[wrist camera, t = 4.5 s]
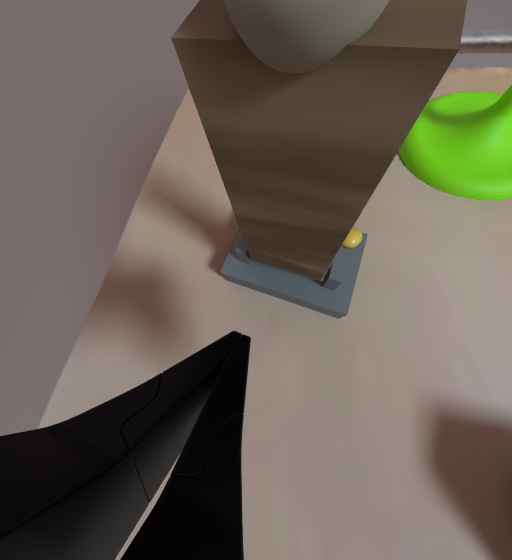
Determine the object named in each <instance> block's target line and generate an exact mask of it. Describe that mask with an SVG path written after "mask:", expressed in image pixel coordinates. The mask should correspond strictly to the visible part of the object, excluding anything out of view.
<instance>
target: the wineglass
mask: <svg viewBox="0 0 512 560" xmlns="http://www.w3.org/2000/svg"><path fill="white" fill-rule="evenodd" d="M398 154H399V156H400V157H401V159H402V161H403V162H404V164H405V166H406V167H407V168H408V169H409V170H410V171H411V172H412V173H413V174H414V175H415V176H416V177H417V178H418V179H420V180H422V181H424V182H425V183H427V184H429V185H430V186H432V187H434V188H435V189H438V190H441V191H444V192H447V193H449V194H452V195H455V196H460V197H466V198H472V199H478V200H484V199H505V198H509V197H512V85H511V86H510V87H509V88H508V89H507V91H506V92H505V93H504V94H503V95H502V94H497V93H493V92H480V91H468V92H456V93H451V94H448V95H444V96H440V97H437V98H434V99H432V100H430V101H428V102H427V104H426V105H425V107H424V109H423V110H422V112H421V114H420V115H419V117H418V119H417V120H416V122H415V124H414V125H413V127H412V129H411V130H410V132H409V134H408V135H407V137H406V139H405V140H404V142H403V144H402V145H401V147H400V149H399V150H398Z"/></svg>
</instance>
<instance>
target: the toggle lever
mask: <svg viewBox="0 0 512 560" xmlns="http://www.w3.org/2000/svg"><path fill="white" fill-rule="evenodd" d="M466 4H467V0H200V1H199V2H198V4H197V5H196V6H195V7H194V9H193V10H192V11H191V13H190V14H189V15H188V16H187V18H186V19H185V20H184V22H183V23H182V24H181V26H180V27H179V28H178V30H177V31H176V32H175V33H174V35H173V36H172V37H171V39H172V42H173V44H174V46H175V50H176V53H177V55H178V58H179V61H180V64H181V66H182V69H183V72H184V75H185V78H186V80H187V83H188V86H189V89H190V92H191V94H192V97H193V100H194V103H195V105H196V108H197V111H198V114H199V117H200V119H201V122H202V125H203V128H204V130H205V133H206V136H207V139H208V141H209V144H210V147H211V150H212V153H213V155H214V158H215V161H216V164H217V166H218V169H219V172H220V175H221V178H222V180H223V183H224V186H225V189H226V191H227V194H228V197H229V200H230V203H231V205H232V208H233V211H234V214H235V216H236V219H237V222H238V225H239V227H240V230H241V233H242V236H243V239H244V241H245V244H246V247H247V250H248V252H249V255H250V259H251V260H254V261H257V262H261V263H264V264H267V265H271V266H274V267H277V268H280V269H284V270H287V271H290V272H293V273H297V274H300V275H303V276H306V277H310V278H313V279H316V280H320V281H323V279H324V276H325V274H326V271H327V269H328V267H329V265H330V264H331V262H332V260H333V259H334V257H335V255H336V254H337V252H338V250H339V249H340V247H341V245H342V244H343V242H344V240H345V239H346V237H347V235H348V234H349V232H350V230H351V229H352V227H353V225H354V224H355V222H356V220H357V219H358V217H359V215H360V214H361V212H362V210H363V209H364V207H365V205H366V204H367V202H368V200H369V199H370V197H371V195H372V194H373V192H374V190H375V189H376V187H377V185H378V184H379V182H380V180H381V179H382V177H383V175H384V174H385V172H386V170H387V169H388V167H389V165H390V164H391V162H392V160H393V159H394V157H395V155H396V154H397V152H398V150H399V149H400V147H401V145H402V144H403V142H404V140H405V139H406V137H407V135H408V134H409V132H410V130H411V129H412V127H413V125H414V124H415V122H416V120H417V119H418V117H419V115H420V114H421V112H422V110H423V109H424V107H425V105H426V104H427V102H428V100H429V99H430V97H431V95H432V94H433V92H434V90H435V89H436V87H437V85H438V84H439V82H440V80H441V79H442V77H443V75H444V74H445V72H446V70H447V69H448V67H449V65H450V63H451V62H452V60H453V59H454V57H455V55H456V54H457V52H458V50H459V47H460V41H461V35H462V29H463V23H464V16H465V10H466Z"/></svg>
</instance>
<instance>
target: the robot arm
mask: <svg viewBox="0 0 512 560" xmlns="http://www.w3.org/2000/svg"><path fill="white" fill-rule="evenodd" d="M250 342H251V338H250V337H249V336H246V335H242V334H241V333H239V332H236V331H232V332H231V333H229V334H227V335H225V336H224V337H222V338H220V339H219V340H217V341H215V342H213V343H212V344H210V345H208V346H207V347H205V348H203V349H201V350H200V351H198V352H196V353H195V354H193V355H191V356H190V357H188V358H186V359H184V360H183V361H181V362H179V363H178V364H176V365H174V366H172V367H171V368H169V369H167V370H166V371H164V372H163V373H160V374H159V375H157V376H155V377H153V378H152V379H150V380H148V381H146V382H145V383H143V384H141V385H139V386H137V387H135V388H133V389H131V390H129V391H127V392H125V393H123V394H121V395H119V396H117V397H115V398H113V399H111V400H109V401H107V402H105V403H103V404H101V405H98V406H96V407H94V408H92V409H90V410H88V411H86V412H84V413H82V414H80V415H77V416H75V417H73V418H71V419H69V420H66V421H63V422H61V423H58V424H55V425H52V426H48V427H45V428H40V429H36V430H30V431H26V432H20V433H14V434H9V435H4V436H0V560H115V558H116V557H117V555H118V553H119V552H120V550H121V549H122V547H123V545H124V544H125V542H126V541H127V539H128V537H129V536H130V534H131V532H132V531H133V529H134V528H135V526H136V524H137V523H138V521H139V519H140V518H141V516H142V515H143V513H144V511H145V510H146V508H147V507H148V505H149V502H150V501H151V500H152V498H153V497H154V495H155V493H156V492H157V490H158V489H159V487H160V485H161V484H162V482H163V480H164V479H165V477H166V476H167V474H168V472H169V471H170V469H171V467H172V466H173V464H174V463H175V461H176V459H177V458H178V456H179V454H180V453H181V454H180V456H179V458H178V460H177V462H176V465H175V467H174V469H173V471H172V473H171V477H170V478H169V479H168V481H167V483H166V486H165V487H164V489H163V491H162V493H161V495H160V497H159V499H158V501H157V503H156V504H155V506H154V508H153V509H152V511H151V512H150V514H149V516H148V517H147V519H146V520H145V522H144V523H143V525H142V527H141V528H140V530H139V531H138V533H137V534H136V536H135V538H134V539H133V541H132V542H131V544H130V545H129V547H128V549H127V550H126V552H125V553H124V555H123V556H122V558H121V559H120V560H244V553H243V526H242V474H241V444H242V428H243V417H244V415H243V414H244V406H245V395H246V384H247V374H248V363H249V353H250ZM181 451H182V452H181Z"/></svg>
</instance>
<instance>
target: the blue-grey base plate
mask: <svg viewBox="0 0 512 560" xmlns="http://www.w3.org/2000/svg"><path fill="white" fill-rule="evenodd" d="M366 238H367V234H365V233H361V231H360V230H359V229H357V228H356V227H352V229H351V230H350V232H349V234H348V235H347V237H346V239H345V240H344V242H343V244H342V245H341V247H340V249H339V250H338V252H337V254H336V255H335V257H334V259H333V260H332V262H331V264H330V265H329V267H328V269H327V271H326V274H325V276H324V279H323V281H320V280H316V279H313V278H310V277H306V276H303V275H300V274H297V273H293V272H290V271H287V270H284V269H280V268H277V267H274V266H271V265H267V264H264V263H261V262H257V261H254V260H251V259H250V255H249V252H248V250H247V247H246V244H245V241H244V239H243V236H242V233H241V230H240V229H239V231H238V233H237V235H236V238H235V240H234V242H233V244H232V247H231V249H230V251H229V253H228V255H227V258H226V260H225V262H224V264H223V267H222V269H221V271H220V273H221V274H222V275H223V277H224V278H225V279H226V280H227V281H230V282H233V283H236V284H239V285H242V286H245V287H248V288H251V289H254V290H257V291H260V292H262V293H265V294H268V295H271V296H274V297H277V298H280V299H283V300H286V301H289V302H292V303H295V304H298V305H301V306H303V307H306V308H309V309H312V310H315V311H318V312H321V313H324V314H327V315H330V316H333V317H336V318H341V317H343V316H346V315H347V313H348V309H349V305H350V301H351V297H352V293H353V289H354V285H355V282H356V278H357V274H358V270H359V266H360V262H361V258H362V254H363V250H364V246H365V242H366Z"/></svg>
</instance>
